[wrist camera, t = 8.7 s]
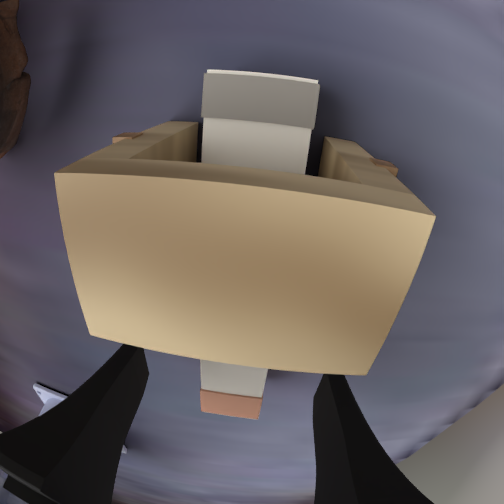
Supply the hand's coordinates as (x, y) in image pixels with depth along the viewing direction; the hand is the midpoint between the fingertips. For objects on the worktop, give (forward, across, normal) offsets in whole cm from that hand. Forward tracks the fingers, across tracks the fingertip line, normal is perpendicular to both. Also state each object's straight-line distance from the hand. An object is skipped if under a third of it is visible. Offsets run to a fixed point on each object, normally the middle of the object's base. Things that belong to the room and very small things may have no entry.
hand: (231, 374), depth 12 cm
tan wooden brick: (+3, 0, -6) cm, 7 cm away
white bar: (+3, 0, -3) cm, 4 cm away
